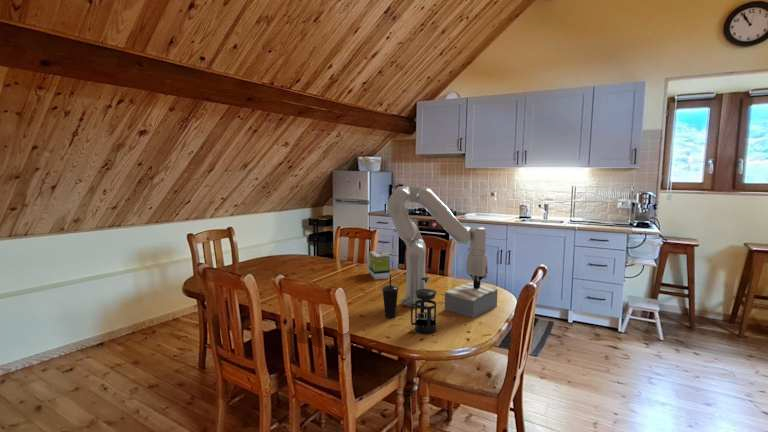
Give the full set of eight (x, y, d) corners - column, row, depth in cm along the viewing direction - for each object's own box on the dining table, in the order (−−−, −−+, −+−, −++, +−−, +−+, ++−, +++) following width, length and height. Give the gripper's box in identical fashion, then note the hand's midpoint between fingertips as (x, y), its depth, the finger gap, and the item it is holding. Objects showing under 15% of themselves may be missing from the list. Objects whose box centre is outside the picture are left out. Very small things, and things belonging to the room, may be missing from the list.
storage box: (473, 318, 190) (473, 301, 189) (444, 309, 201) (445, 293, 200) (496, 306, 206) (497, 290, 204) (469, 298, 217) (469, 284, 215)
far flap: (486, 294, 197) (486, 293, 197) (458, 287, 208) (458, 286, 208) (497, 290, 204) (497, 289, 204) (469, 284, 215) (469, 282, 215)
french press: (433, 324, 183) (434, 274, 180) (441, 332, 174) (442, 280, 171) (407, 326, 180) (408, 275, 177) (414, 335, 171) (414, 282, 168)
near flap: (473, 301, 189) (473, 299, 189) (445, 293, 200) (445, 292, 200) (485, 294, 196) (485, 293, 196) (457, 287, 207) (457, 286, 207)
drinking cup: (388, 312, 197) (389, 271, 195) (401, 316, 193) (401, 274, 190) (378, 316, 192) (378, 275, 189) (391, 320, 187) (391, 278, 184)
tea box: (368, 273, 266) (368, 251, 264) (383, 272, 269) (383, 250, 267) (374, 279, 251) (374, 256, 249) (390, 278, 254) (390, 255, 252)
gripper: (460, 251, 205) (459, 286, 207) (487, 255, 195) (486, 293, 197) (468, 248, 210) (468, 283, 213) (495, 252, 200) (494, 289, 202)
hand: (476, 288), depth 205 cm, fingers closed
